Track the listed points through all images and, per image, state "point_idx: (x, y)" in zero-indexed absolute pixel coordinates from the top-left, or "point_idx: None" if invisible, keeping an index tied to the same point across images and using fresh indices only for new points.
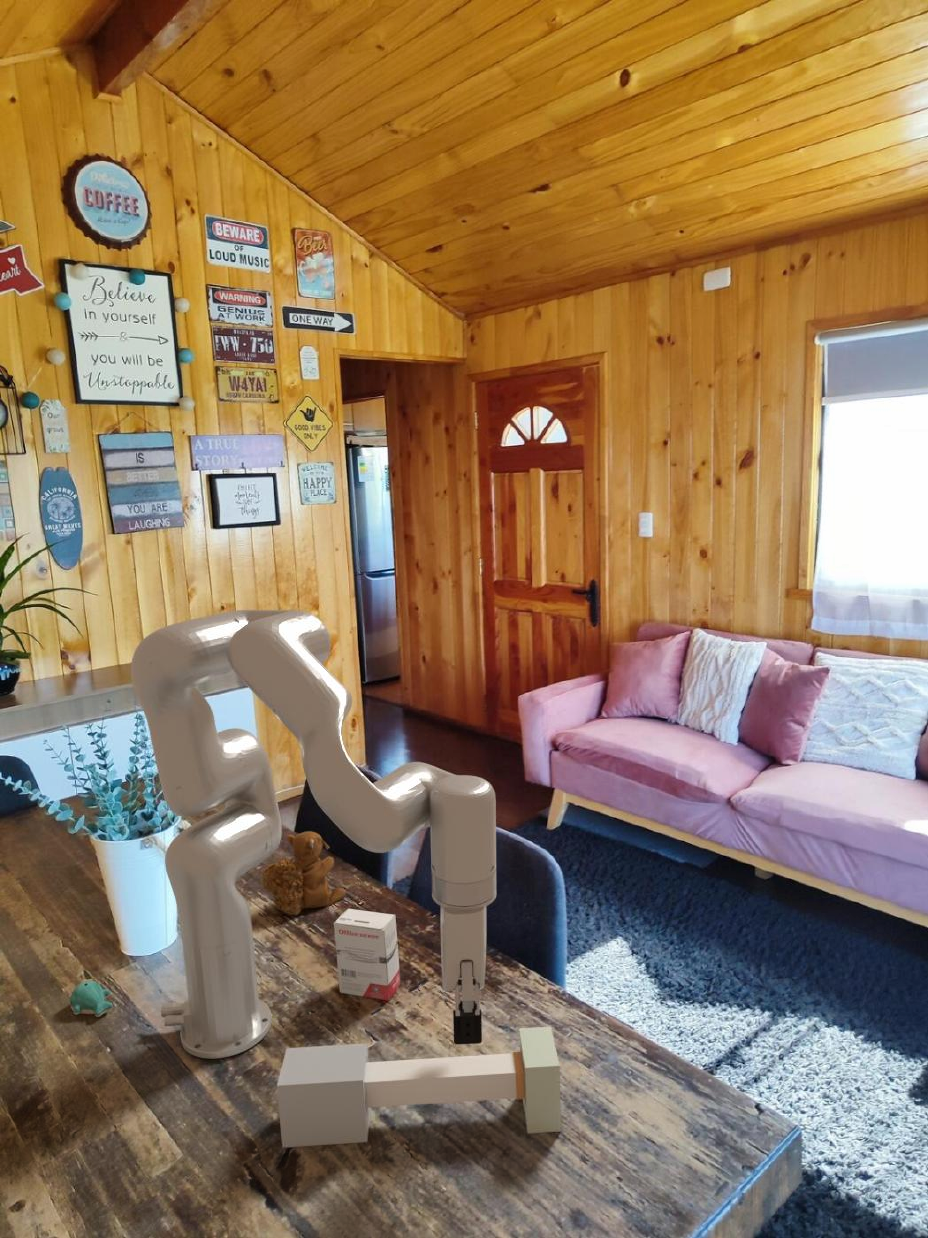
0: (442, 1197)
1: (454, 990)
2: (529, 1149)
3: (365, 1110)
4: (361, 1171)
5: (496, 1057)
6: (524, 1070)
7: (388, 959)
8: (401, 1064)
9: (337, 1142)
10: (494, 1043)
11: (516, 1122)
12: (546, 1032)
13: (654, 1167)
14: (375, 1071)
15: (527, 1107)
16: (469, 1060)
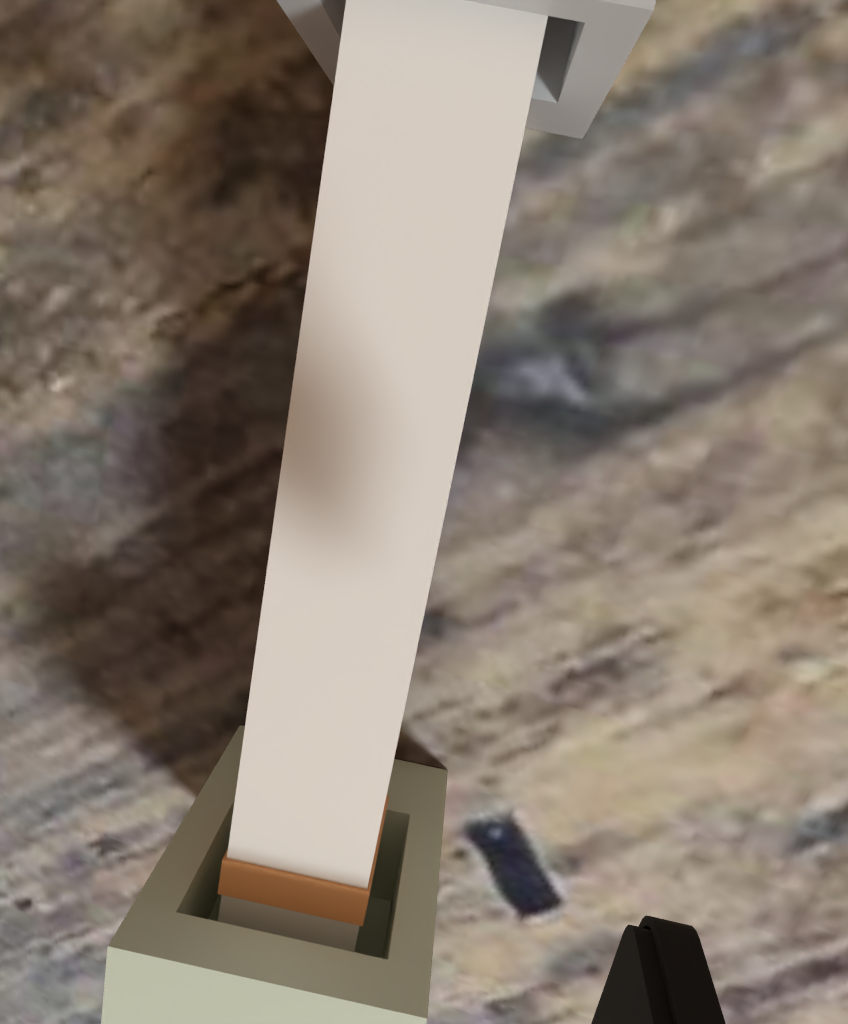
0: (19, 370)
1: (630, 929)
2: (173, 709)
3: (318, 39)
4: (186, 49)
5: (359, 811)
6: (235, 898)
7: None
8: (452, 282)
9: None
10: (752, 756)
11: None
12: None
13: (49, 997)
14: (435, 86)
15: (198, 795)
16: (374, 680)
